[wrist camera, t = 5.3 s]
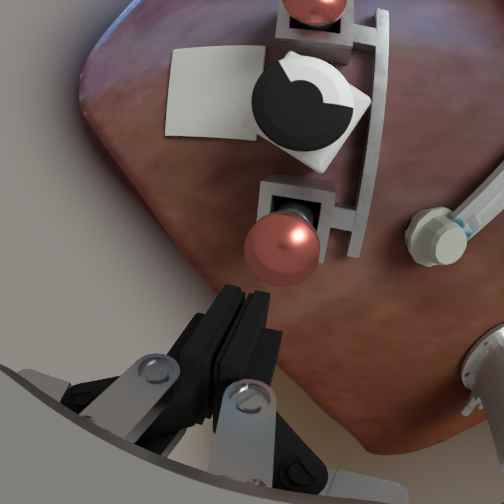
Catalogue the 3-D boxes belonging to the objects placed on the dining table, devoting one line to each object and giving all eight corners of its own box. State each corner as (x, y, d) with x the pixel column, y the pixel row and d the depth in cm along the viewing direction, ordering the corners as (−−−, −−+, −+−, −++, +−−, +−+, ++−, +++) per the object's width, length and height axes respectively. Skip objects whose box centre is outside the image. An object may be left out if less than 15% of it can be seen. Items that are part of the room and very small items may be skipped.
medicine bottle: (322, 167, 27) (320, 186, 16) (260, 128, 27) (217, 121, 16) (362, 109, 24) (387, 87, 13) (298, 69, 24) (278, 25, 13)
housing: (356, 250, 29) (362, 276, 24) (266, 234, 31) (253, 255, 25) (385, 18, 19) (396, -7, 14) (290, 4, 21) (281, -23, 15)
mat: (256, 140, 27) (255, 140, 27) (167, 135, 29) (165, 135, 29) (266, 47, 23) (265, 45, 23) (175, 50, 25) (173, 49, 25)
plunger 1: (317, 247, 25) (312, 292, 18) (266, 238, 26) (241, 279, 19) (326, 196, 23) (326, 222, 16) (271, 187, 24) (247, 209, 17)
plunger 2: (341, 55, 21) (345, 24, 14) (292, 49, 22) (278, 18, 15) (343, 16, 20) (346, -23, 12) (295, 10, 20) (283, -28, 13)
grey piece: (571, 149, 14) (442, 294, 21) (538, 147, 20) (415, 268, 27) (555, 106, 13) (417, 248, 20) (521, 110, 19) (391, 229, 27)
